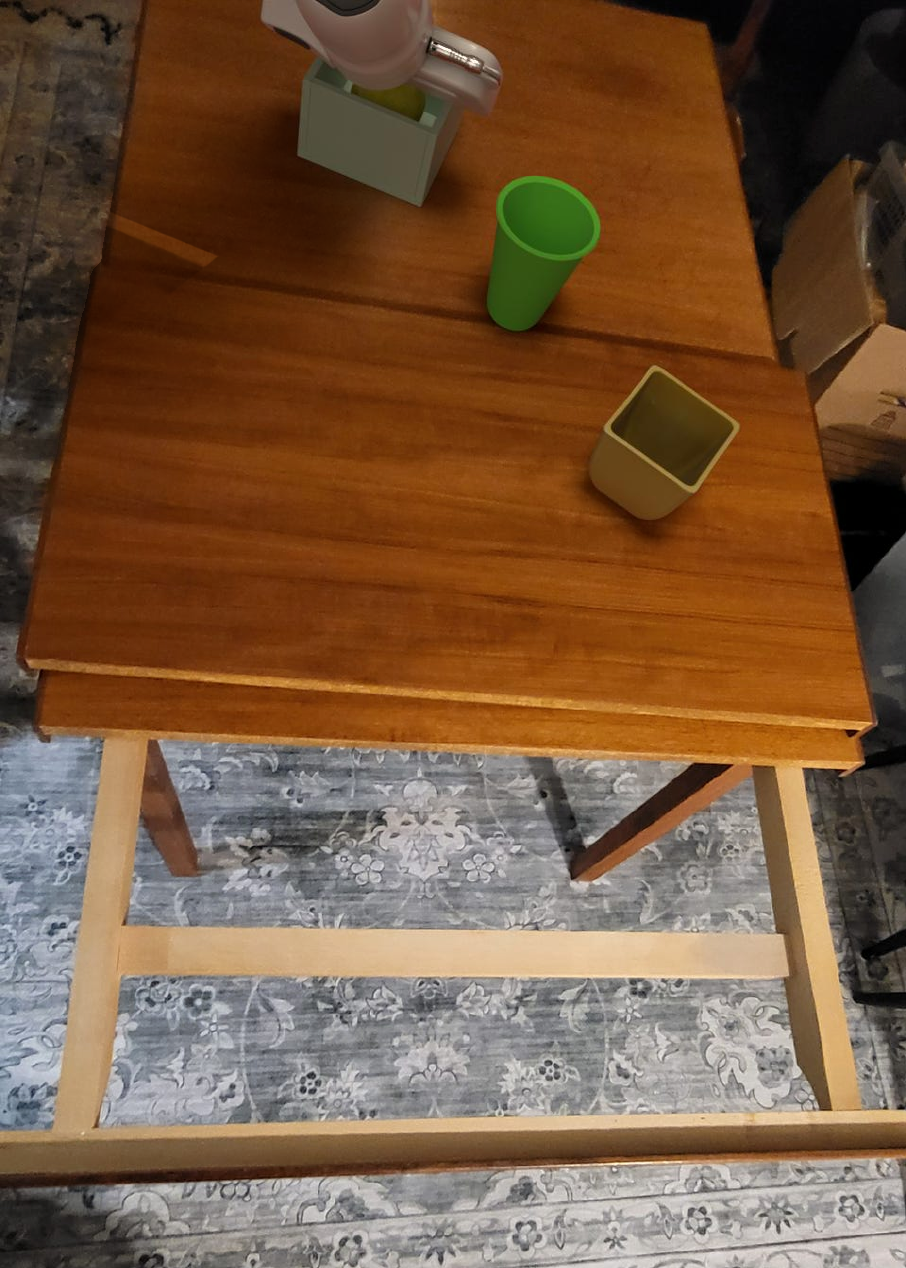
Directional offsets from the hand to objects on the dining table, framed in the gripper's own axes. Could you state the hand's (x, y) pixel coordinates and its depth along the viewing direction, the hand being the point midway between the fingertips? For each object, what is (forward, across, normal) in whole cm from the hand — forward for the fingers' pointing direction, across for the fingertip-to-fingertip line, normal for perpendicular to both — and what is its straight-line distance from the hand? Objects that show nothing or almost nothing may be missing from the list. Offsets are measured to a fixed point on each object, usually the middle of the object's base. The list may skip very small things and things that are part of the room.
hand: (396, 67), depth 82 cm
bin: (+5, 0, +6) cm, 7 cm away
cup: (-5, -18, +16) cm, 24 cm away
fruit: (+4, 0, +5) cm, 7 cm away
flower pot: (-15, -33, +26) cm, 44 cm away
